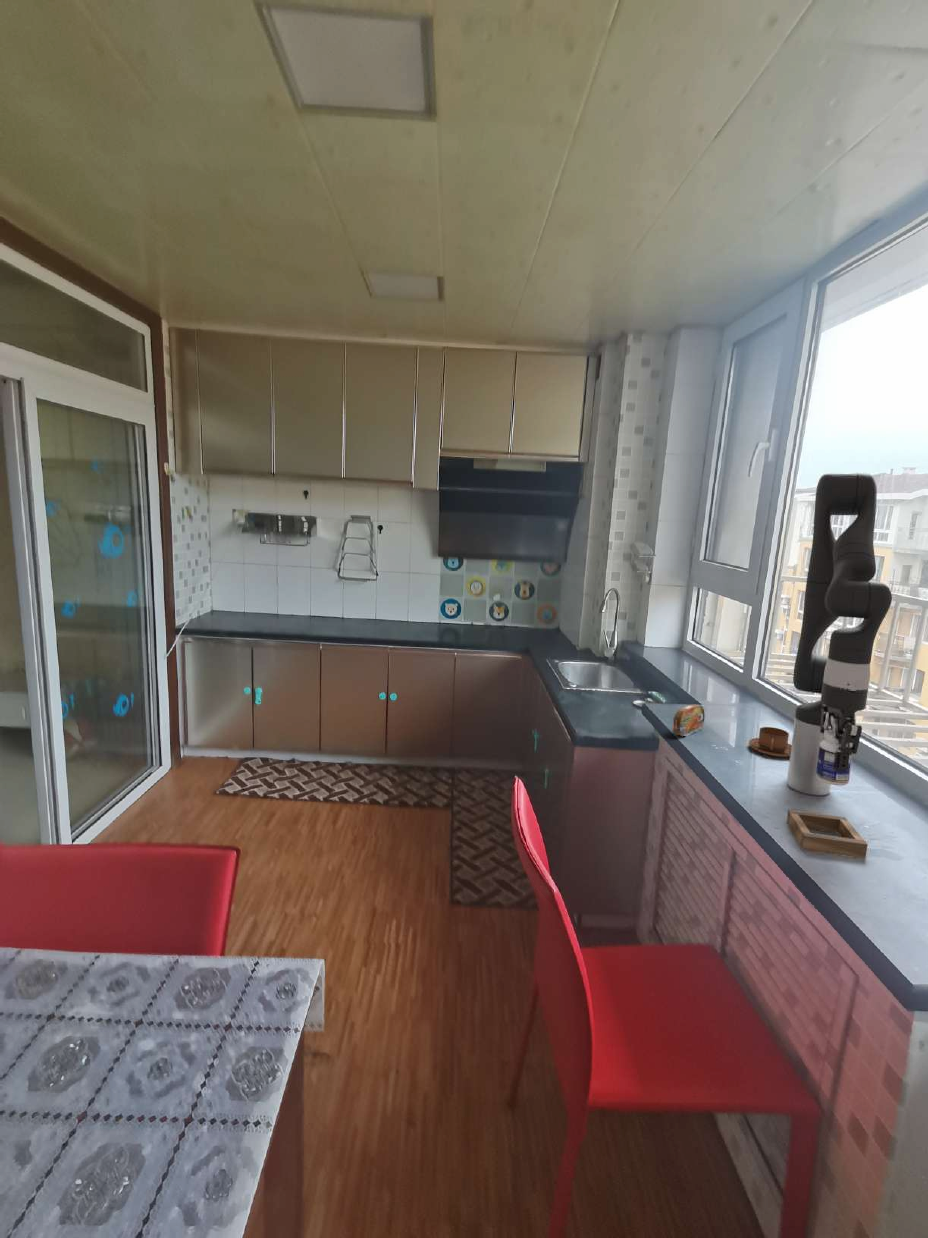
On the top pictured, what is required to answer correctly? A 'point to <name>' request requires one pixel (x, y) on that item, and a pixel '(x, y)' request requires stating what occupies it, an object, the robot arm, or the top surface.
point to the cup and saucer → (772, 742)
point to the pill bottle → (830, 762)
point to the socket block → (842, 845)
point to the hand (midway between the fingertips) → (834, 763)
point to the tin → (688, 719)
